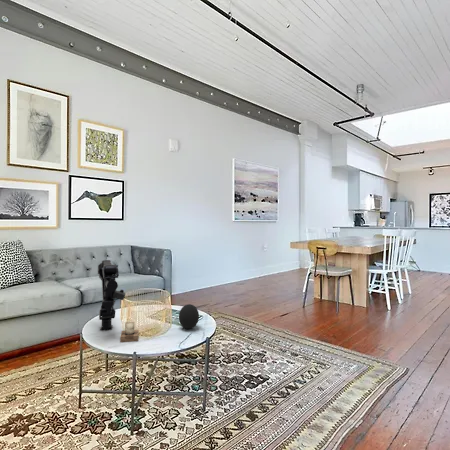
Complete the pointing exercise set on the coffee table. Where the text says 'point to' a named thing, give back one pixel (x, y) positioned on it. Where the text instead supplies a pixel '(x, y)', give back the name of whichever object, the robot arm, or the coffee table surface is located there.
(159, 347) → the coffee table surface
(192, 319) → the decorative egg
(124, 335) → the brown square frame
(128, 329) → the peg
